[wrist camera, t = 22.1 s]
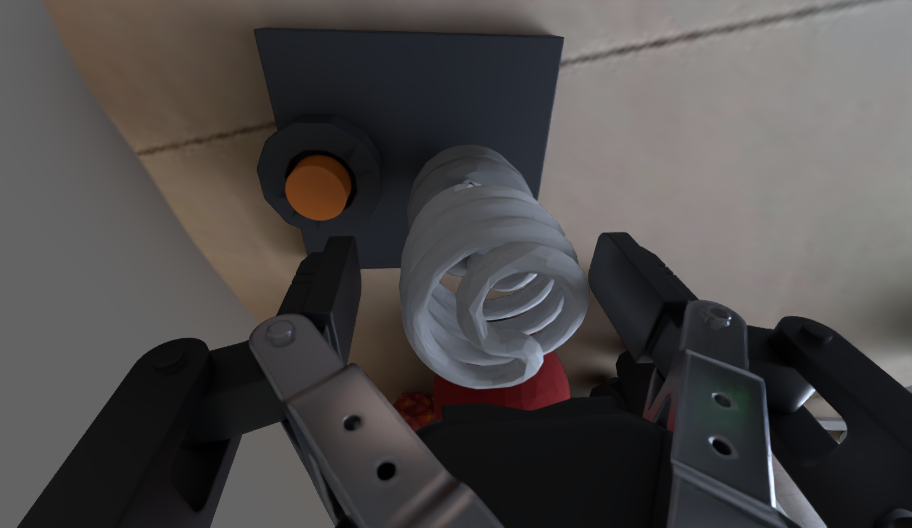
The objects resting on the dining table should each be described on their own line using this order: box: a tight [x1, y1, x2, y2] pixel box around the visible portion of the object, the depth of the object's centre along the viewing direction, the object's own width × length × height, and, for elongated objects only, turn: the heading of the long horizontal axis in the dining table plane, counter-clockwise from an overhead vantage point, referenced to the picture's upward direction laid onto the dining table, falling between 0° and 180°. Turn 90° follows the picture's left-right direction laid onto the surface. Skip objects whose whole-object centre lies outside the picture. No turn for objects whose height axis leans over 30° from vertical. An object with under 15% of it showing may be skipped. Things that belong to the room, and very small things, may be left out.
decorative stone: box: [393, 392, 436, 432], centre depth 28 cm, size 6×7×8 cm
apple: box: [433, 332, 571, 421], centre depth 24 cm, size 9×9×10 cm
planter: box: [771, 452, 827, 528], centre depth 38 cm, size 11×11×10 cm
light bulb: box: [399, 145, 590, 389], centre depth 14 cm, size 6×6×12 cm
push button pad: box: [254, 28, 564, 269], centre depth 19 cm, size 14×12×3 cm
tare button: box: [285, 155, 351, 220], centre depth 17 cm, size 3×3×2 cm
